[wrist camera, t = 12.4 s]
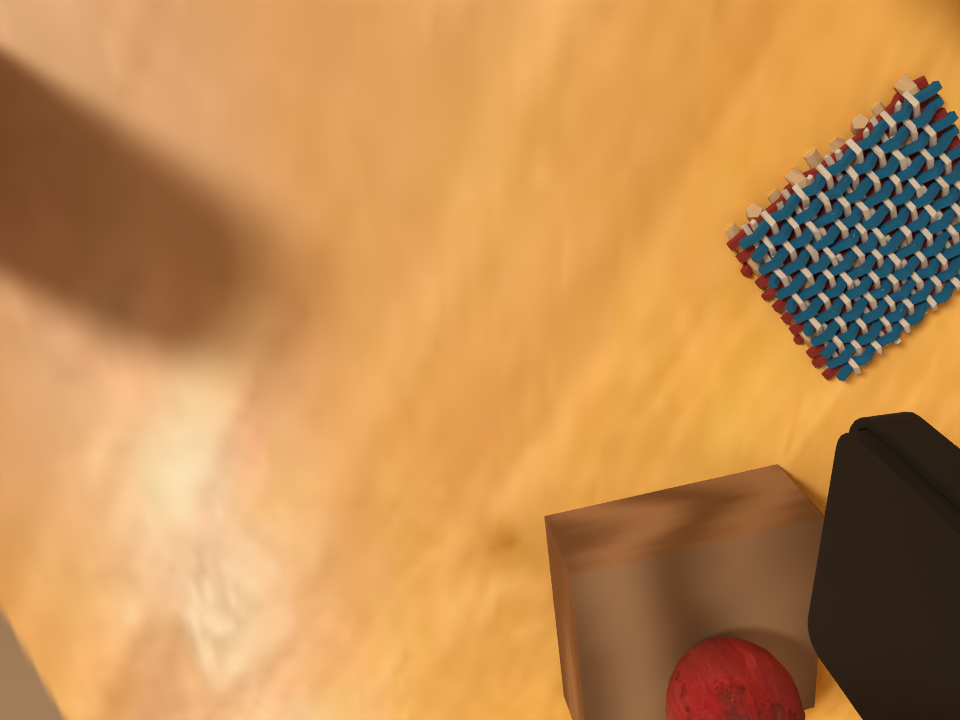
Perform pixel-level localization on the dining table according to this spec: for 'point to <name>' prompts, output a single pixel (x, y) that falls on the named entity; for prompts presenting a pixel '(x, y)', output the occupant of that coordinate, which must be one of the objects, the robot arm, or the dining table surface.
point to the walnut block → (681, 586)
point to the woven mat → (863, 232)
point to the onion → (731, 684)
